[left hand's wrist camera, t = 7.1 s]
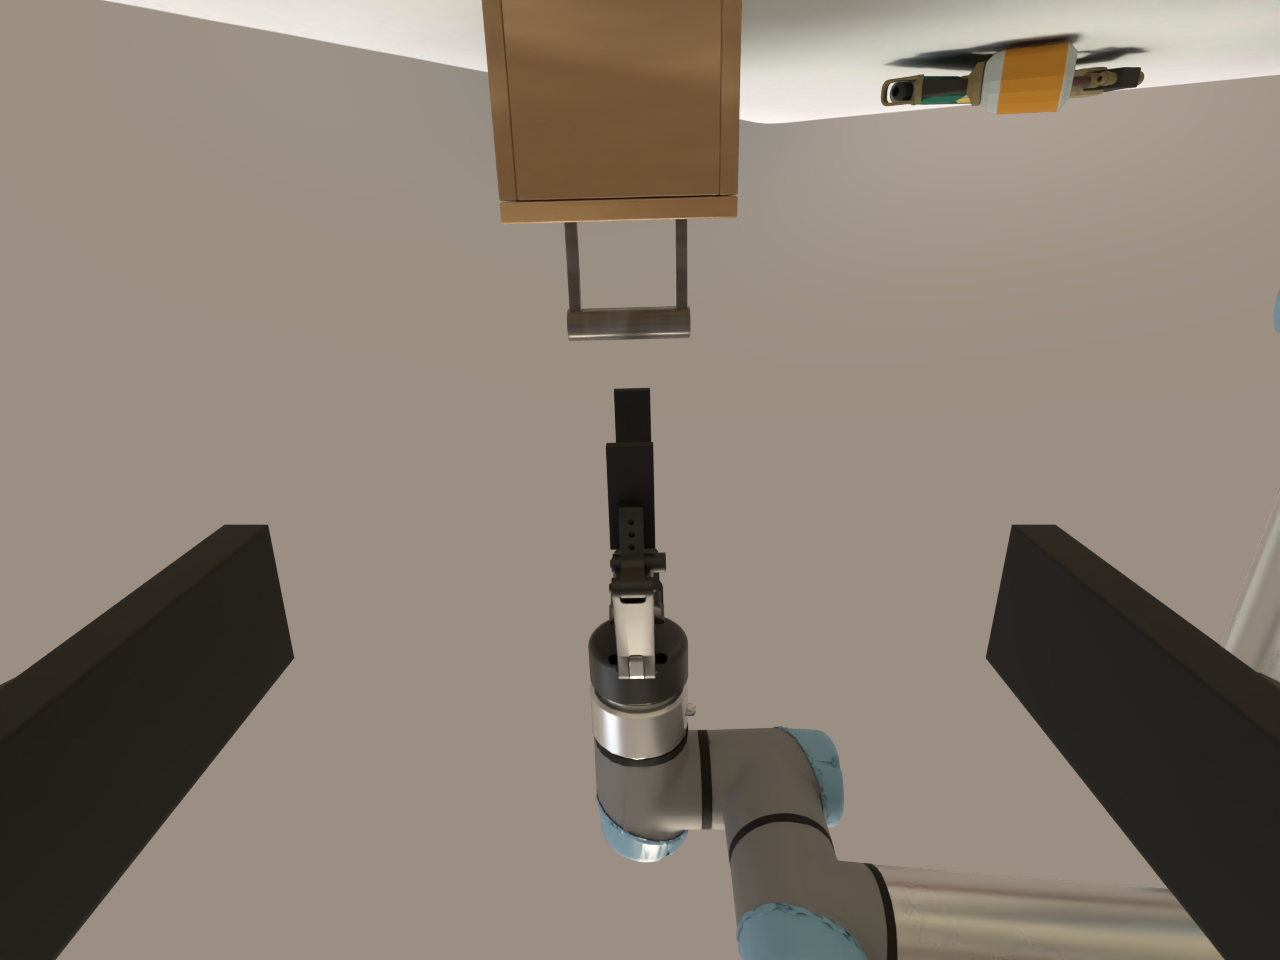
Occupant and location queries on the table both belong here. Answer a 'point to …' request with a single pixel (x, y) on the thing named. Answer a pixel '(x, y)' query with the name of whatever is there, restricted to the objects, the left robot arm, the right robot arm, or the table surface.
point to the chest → (614, 98)
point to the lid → (572, 211)
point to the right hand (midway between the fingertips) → (630, 412)
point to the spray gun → (1015, 82)
